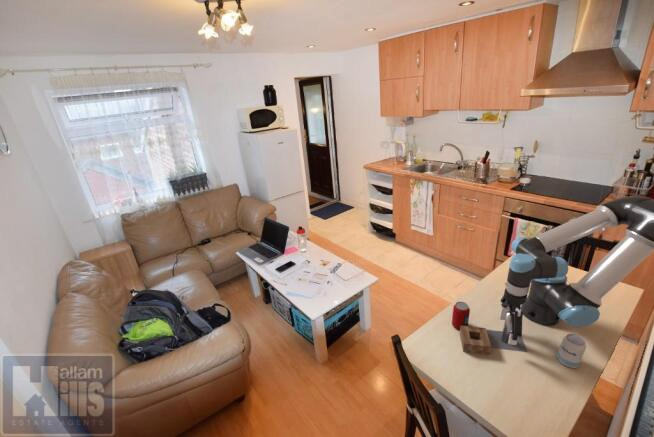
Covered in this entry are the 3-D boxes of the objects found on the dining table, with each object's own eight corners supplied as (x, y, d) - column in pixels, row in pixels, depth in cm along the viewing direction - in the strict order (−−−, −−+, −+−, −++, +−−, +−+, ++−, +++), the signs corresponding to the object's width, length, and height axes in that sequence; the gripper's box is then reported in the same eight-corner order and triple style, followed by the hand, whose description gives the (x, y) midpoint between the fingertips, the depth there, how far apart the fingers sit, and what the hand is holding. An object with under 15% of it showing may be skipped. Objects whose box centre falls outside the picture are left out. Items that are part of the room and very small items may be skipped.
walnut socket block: (484, 336, 130) (485, 328, 128) (489, 355, 122) (491, 346, 119) (459, 333, 133) (460, 325, 131) (462, 352, 124) (464, 343, 122)
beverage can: (469, 332, 133) (472, 311, 128) (452, 330, 135) (455, 310, 130) (465, 321, 139) (468, 300, 134) (450, 320, 141) (452, 300, 136)
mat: (520, 333, 130) (520, 333, 130) (527, 352, 121) (527, 352, 121) (484, 329, 133) (484, 329, 133) (489, 347, 125) (489, 347, 125)
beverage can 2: (552, 359, 117) (560, 337, 112) (562, 351, 120) (569, 329, 115) (573, 372, 112) (581, 349, 107) (582, 363, 115) (591, 341, 110)
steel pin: (508, 337, 128) (514, 311, 122) (510, 343, 125) (516, 316, 119) (500, 336, 129) (505, 310, 123) (502, 342, 126) (507, 315, 120)
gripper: (497, 271, 128) (490, 309, 137) (515, 312, 106) (505, 354, 115) (517, 272, 126) (508, 311, 135) (539, 314, 104) (527, 357, 113)
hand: (507, 331), depth 125 cm, fingers open, 13 cm apart
